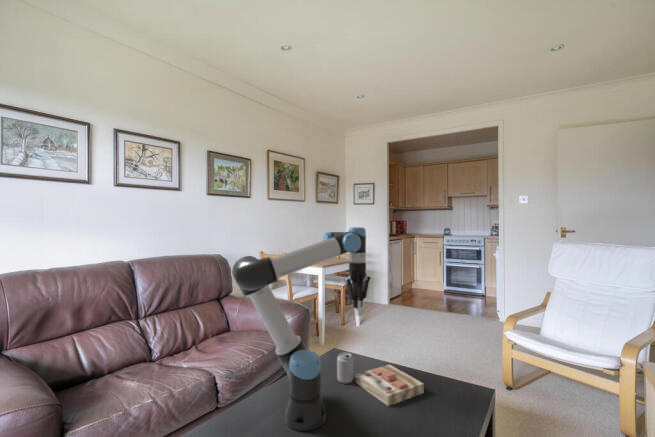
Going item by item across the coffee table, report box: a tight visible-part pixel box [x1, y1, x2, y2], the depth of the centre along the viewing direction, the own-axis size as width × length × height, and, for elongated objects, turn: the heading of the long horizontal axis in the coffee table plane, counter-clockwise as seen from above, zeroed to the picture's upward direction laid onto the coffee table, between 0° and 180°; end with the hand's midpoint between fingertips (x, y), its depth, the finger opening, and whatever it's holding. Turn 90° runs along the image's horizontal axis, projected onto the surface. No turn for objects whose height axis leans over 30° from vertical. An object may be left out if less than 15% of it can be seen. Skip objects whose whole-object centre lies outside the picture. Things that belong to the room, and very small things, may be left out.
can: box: [336, 352, 354, 385], centre depth 151 cm, size 8×8×12 cm
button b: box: [382, 370, 396, 383], centre depth 144 cm, size 4×4×4 cm
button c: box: [371, 366, 385, 376], centre depth 150 cm, size 4×4×4 cm
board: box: [355, 364, 425, 407], centre depth 144 cm, size 20×22×4 cm
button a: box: [392, 380, 407, 390], centre depth 138 cm, size 4×4×4 cm
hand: (357, 315), depth 144 cm, fingers closed
